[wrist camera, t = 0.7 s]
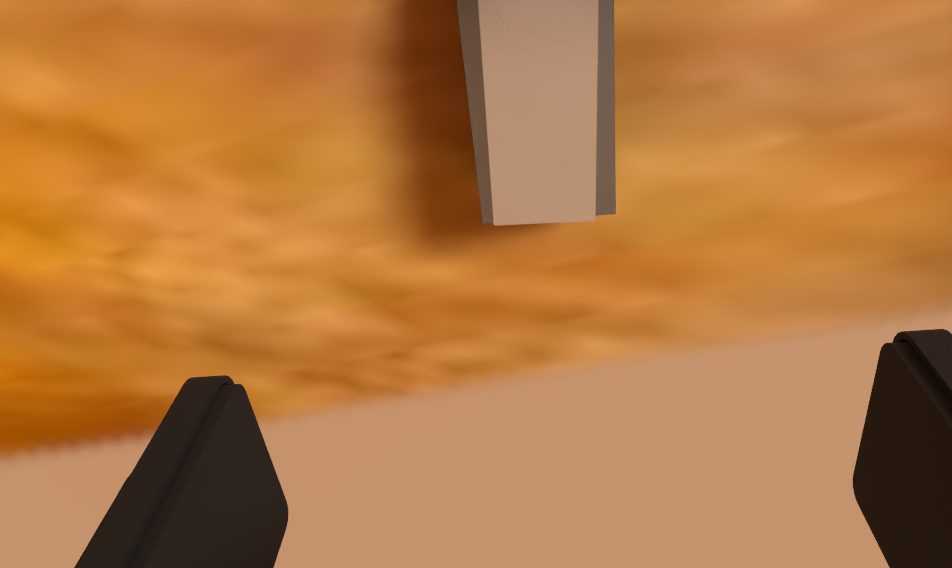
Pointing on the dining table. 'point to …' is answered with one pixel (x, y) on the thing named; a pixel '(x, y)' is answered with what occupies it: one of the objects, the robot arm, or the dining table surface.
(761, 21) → the dining table surface
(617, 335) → the dining table surface
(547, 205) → the cover
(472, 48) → the housing base
